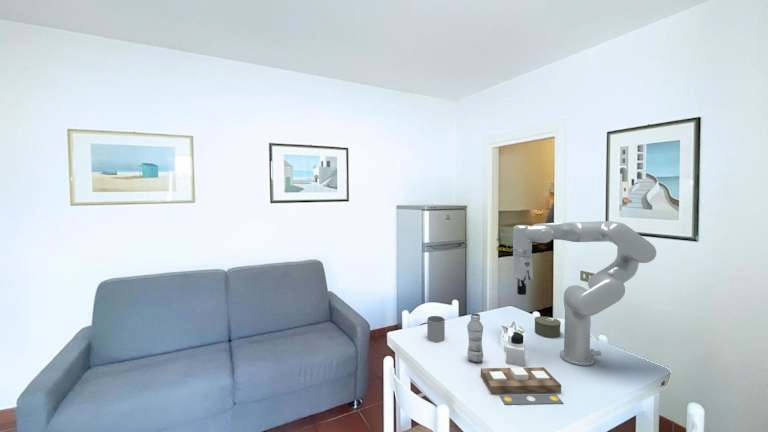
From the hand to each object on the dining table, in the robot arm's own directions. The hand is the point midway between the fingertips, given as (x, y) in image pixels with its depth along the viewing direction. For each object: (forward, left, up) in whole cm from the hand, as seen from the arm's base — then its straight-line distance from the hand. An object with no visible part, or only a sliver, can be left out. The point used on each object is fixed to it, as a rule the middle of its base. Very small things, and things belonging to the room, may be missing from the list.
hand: (521, 294), depth 141 cm
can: (-23, -21, -27) cm, 42 cm away
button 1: (+19, +23, -26) cm, 40 cm away
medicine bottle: (+5, +6, -27) cm, 28 cm away
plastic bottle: (+22, +5, -27) cm, 35 cm away
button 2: (+3, +23, -26) cm, 35 cm away
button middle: (+11, +23, -25) cm, 36 cm away
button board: (+11, +23, -27) cm, 37 cm away
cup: (+35, -17, -27) cm, 48 cm away
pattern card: (+11, +33, -27) cm, 44 cm away
